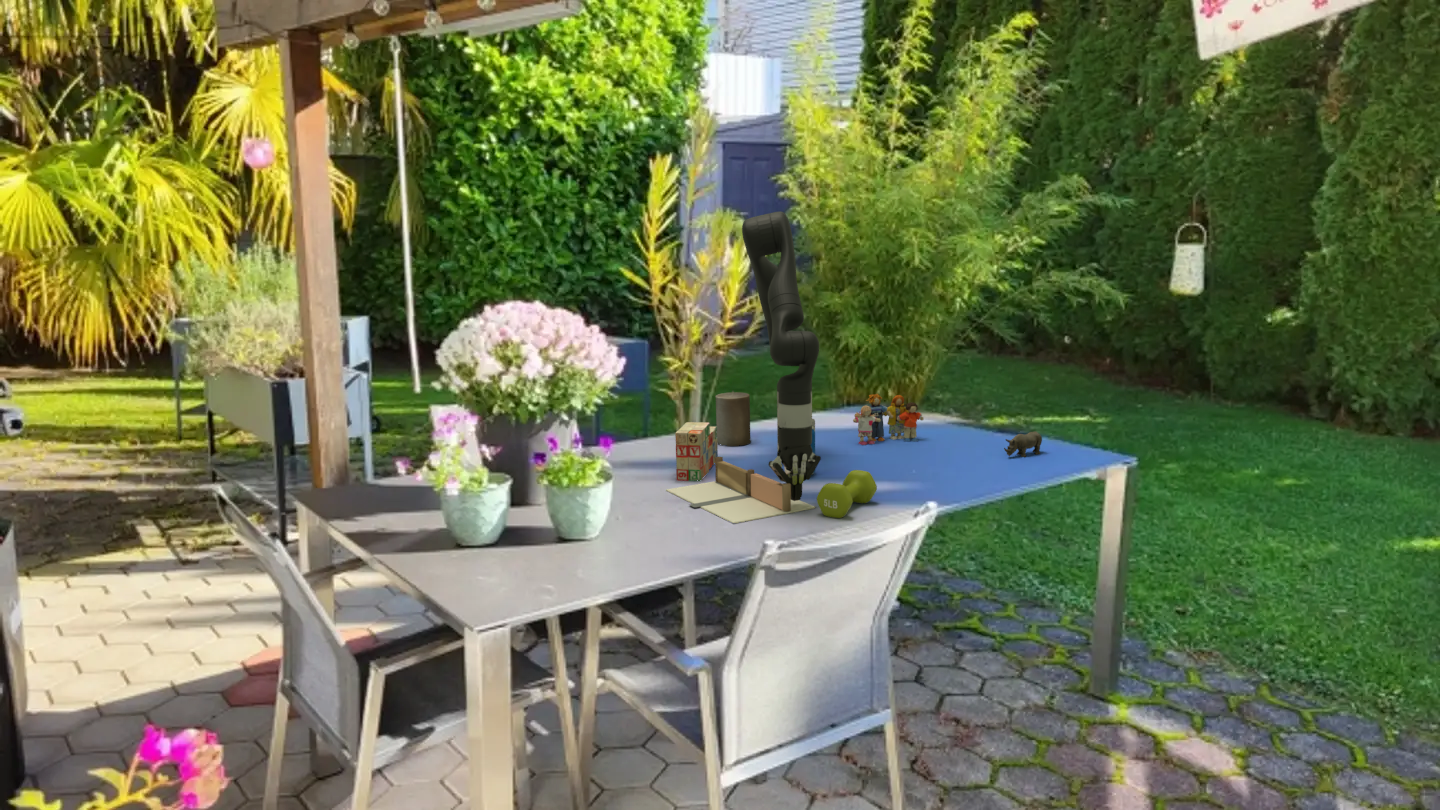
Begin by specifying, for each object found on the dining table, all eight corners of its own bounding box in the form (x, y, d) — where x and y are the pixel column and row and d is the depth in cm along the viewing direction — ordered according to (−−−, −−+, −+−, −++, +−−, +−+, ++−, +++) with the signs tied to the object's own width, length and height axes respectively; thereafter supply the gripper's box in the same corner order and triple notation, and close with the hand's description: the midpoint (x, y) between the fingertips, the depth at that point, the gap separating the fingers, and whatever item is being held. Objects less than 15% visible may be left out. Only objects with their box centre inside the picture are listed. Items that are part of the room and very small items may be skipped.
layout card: (742, 477, 252) (742, 476, 252) (815, 508, 226) (815, 506, 226) (660, 491, 241) (660, 490, 241) (726, 525, 215) (726, 523, 215)
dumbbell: (846, 521, 216) (847, 488, 215) (813, 516, 221) (813, 483, 219) (879, 502, 230) (880, 471, 229) (847, 497, 234) (847, 467, 233)
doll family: (854, 446, 284) (854, 399, 281) (842, 439, 293) (842, 393, 290) (925, 440, 289) (926, 394, 286) (911, 433, 298) (912, 389, 295)
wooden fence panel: (720, 480, 249) (720, 456, 248) (756, 495, 235) (756, 470, 234) (714, 481, 248) (713, 457, 247) (749, 496, 235) (749, 471, 233)
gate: (757, 495, 235) (756, 470, 234) (792, 510, 223) (792, 484, 222) (750, 496, 234) (750, 471, 233) (785, 511, 222) (785, 485, 221)
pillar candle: (757, 441, 292) (756, 389, 289) (739, 447, 284) (738, 394, 281) (728, 437, 297) (726, 386, 294) (709, 444, 289) (708, 392, 286)
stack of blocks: (695, 460, 272) (693, 414, 269) (718, 460, 271) (717, 415, 268) (676, 481, 251) (674, 432, 249) (701, 482, 250) (700, 432, 248)
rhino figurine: (997, 457, 268) (997, 435, 267) (1034, 450, 275) (1034, 428, 274) (1009, 461, 265) (1009, 438, 264) (1046, 453, 272) (1047, 431, 271)
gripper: (809, 416, 230) (809, 491, 234) (759, 423, 224) (760, 500, 227) (829, 422, 224) (829, 499, 227) (779, 429, 217) (779, 508, 221)
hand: (795, 499), depth 227 cm, fingers closed
